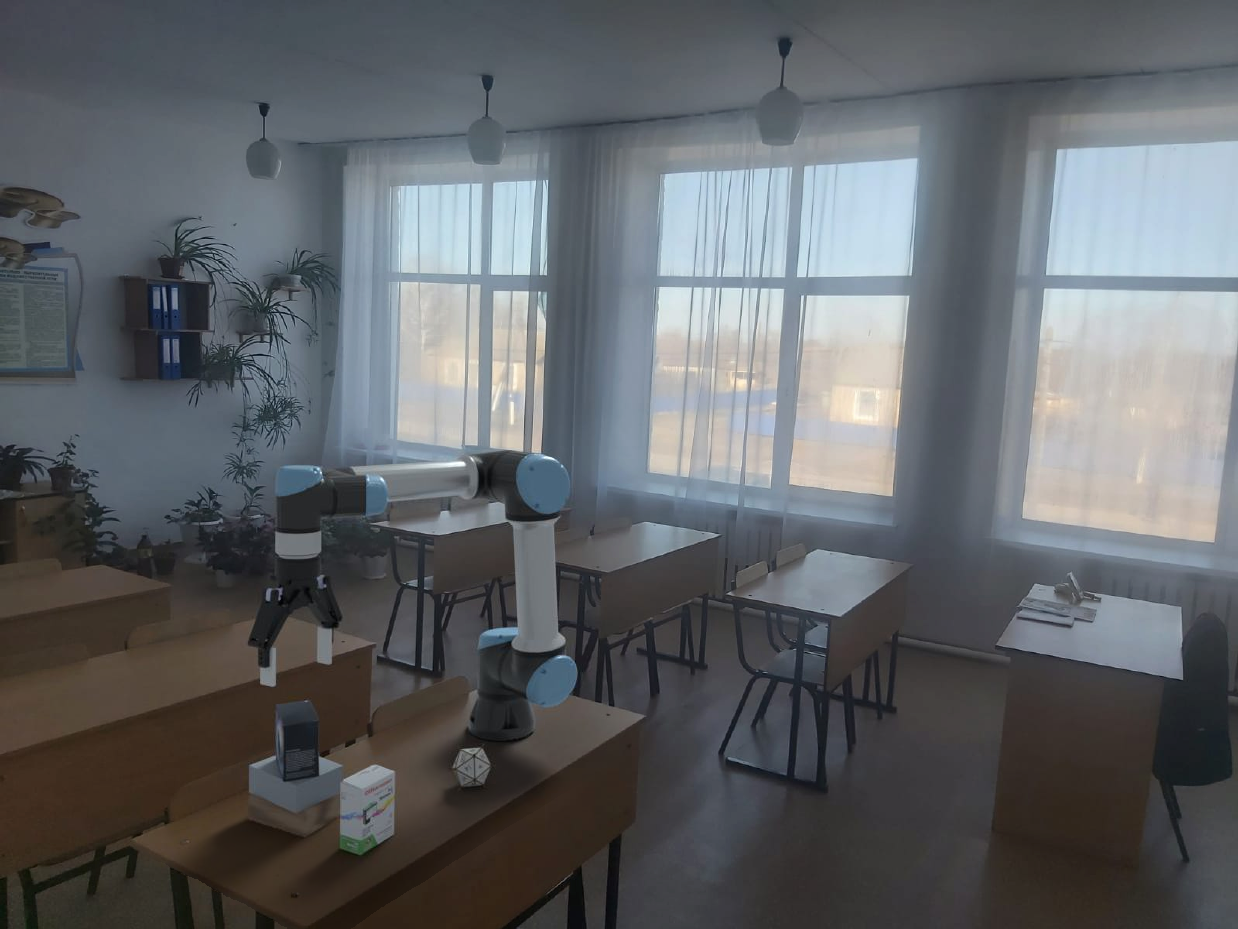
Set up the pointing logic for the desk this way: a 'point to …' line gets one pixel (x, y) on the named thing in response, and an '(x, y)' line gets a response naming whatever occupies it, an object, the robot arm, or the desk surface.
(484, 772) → the game die
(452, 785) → the desk surface
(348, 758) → the desk surface
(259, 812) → the walnut slab
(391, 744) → the desk surface
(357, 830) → the ink box
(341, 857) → the desk surface
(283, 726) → the small box
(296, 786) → the grey slab
